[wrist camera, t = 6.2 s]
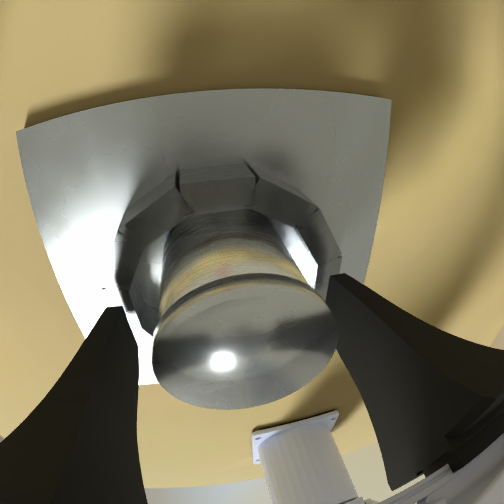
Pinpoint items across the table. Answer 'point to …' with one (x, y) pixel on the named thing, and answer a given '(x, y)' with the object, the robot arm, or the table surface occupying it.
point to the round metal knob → (236, 315)
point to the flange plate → (202, 187)
